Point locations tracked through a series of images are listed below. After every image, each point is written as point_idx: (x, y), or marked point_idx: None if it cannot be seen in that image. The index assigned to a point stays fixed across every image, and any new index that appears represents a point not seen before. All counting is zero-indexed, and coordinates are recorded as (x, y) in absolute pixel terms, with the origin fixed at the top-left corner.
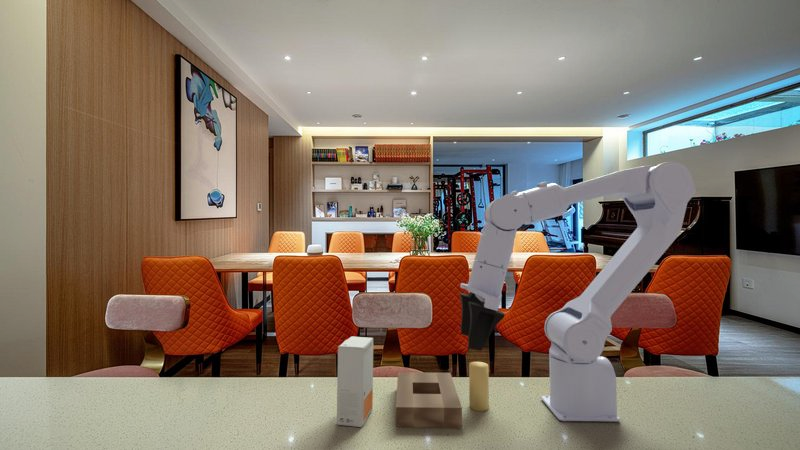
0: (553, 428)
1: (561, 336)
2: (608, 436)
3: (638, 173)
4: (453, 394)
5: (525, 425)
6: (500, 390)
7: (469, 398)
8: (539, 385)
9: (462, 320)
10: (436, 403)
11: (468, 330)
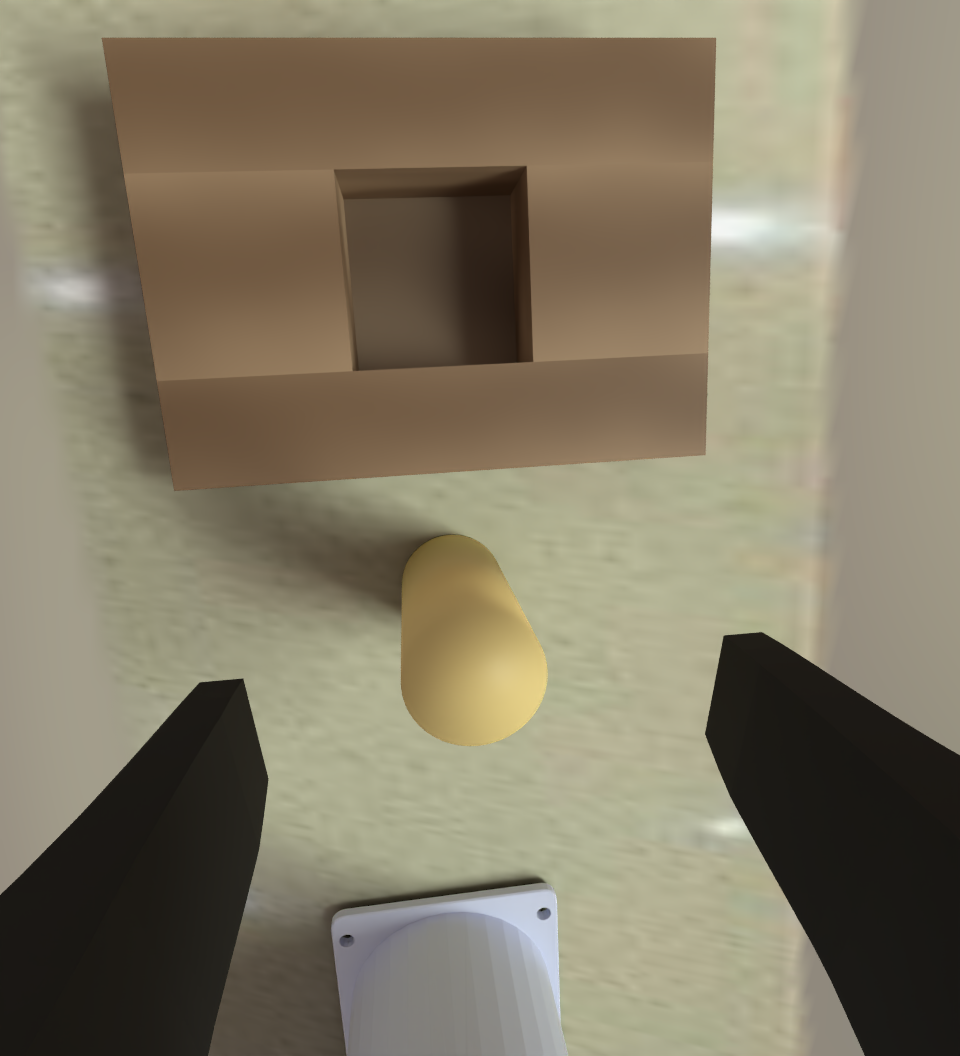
0: (275, 869)
1: None
2: (242, 1041)
3: None
4: (356, 453)
5: (284, 765)
6: (646, 713)
7: (456, 544)
8: (707, 901)
9: (837, 732)
10: (208, 334)
11: (744, 735)
